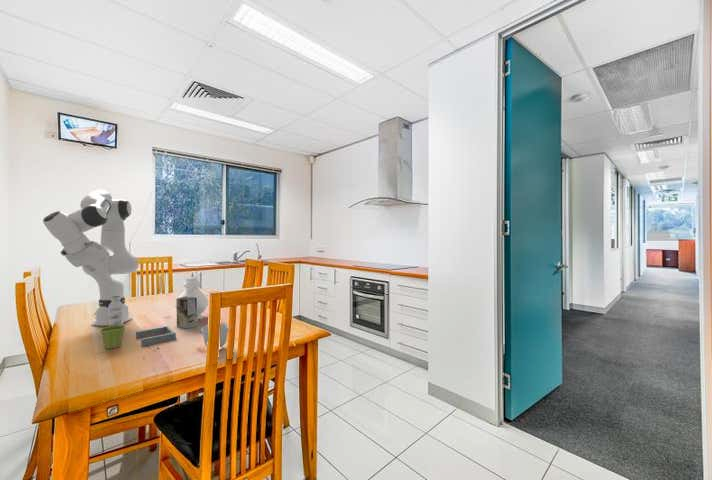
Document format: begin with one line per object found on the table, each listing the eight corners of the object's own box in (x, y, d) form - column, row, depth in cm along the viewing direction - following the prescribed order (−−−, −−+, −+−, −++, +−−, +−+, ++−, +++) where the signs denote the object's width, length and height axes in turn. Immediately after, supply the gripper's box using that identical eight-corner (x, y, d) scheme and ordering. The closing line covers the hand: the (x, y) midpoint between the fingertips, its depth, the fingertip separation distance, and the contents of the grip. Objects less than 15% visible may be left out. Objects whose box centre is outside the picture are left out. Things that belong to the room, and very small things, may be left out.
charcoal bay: (136, 337, 156) (136, 331, 156) (168, 331, 166) (168, 325, 165) (141, 345, 145) (141, 339, 145) (175, 338, 154) (175, 332, 154)
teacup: (219, 340, 152) (219, 320, 152) (234, 348, 143) (234, 327, 142) (193, 347, 143) (193, 326, 143) (208, 356, 133) (208, 333, 133)
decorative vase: (214, 316, 195) (214, 277, 194) (189, 324, 179) (189, 281, 178) (195, 313, 202) (194, 275, 201) (168, 320, 186) (168, 278, 185)
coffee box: (197, 325, 176) (197, 297, 175) (187, 328, 170) (187, 299, 170) (186, 323, 179) (185, 296, 179) (175, 326, 174) (175, 298, 173)
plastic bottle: (115, 338, 155) (115, 298, 154) (104, 336, 156) (104, 297, 155) (127, 333, 161) (127, 295, 160) (116, 332, 162) (116, 295, 162)
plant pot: (95, 351, 138) (94, 332, 138) (107, 343, 147) (107, 325, 147) (118, 349, 140) (118, 330, 140) (129, 342, 149) (129, 324, 149)
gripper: (100, 236, 139) (121, 260, 145) (70, 246, 145) (92, 269, 151) (88, 243, 133) (110, 269, 140) (57, 254, 139) (80, 277, 146)
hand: (100, 269), depth 145 cm, fingers open, 8 cm apart
